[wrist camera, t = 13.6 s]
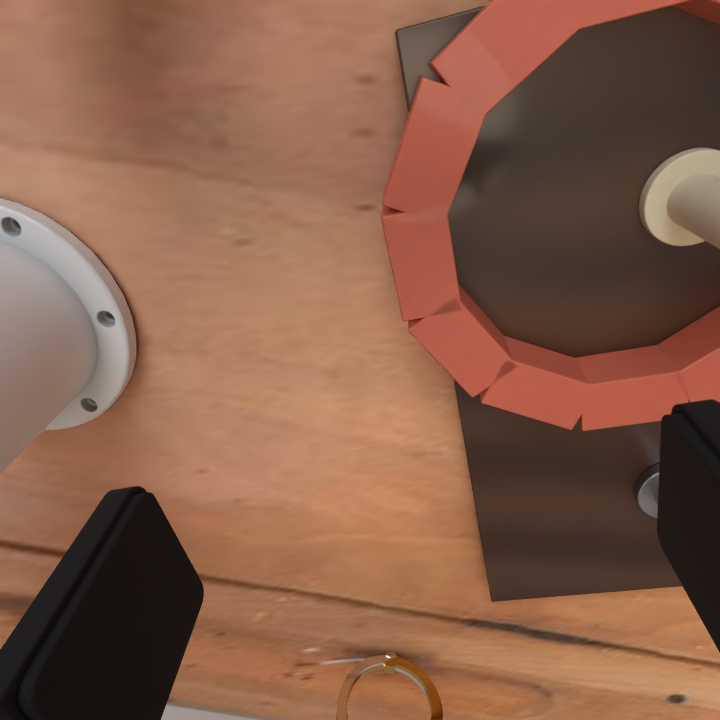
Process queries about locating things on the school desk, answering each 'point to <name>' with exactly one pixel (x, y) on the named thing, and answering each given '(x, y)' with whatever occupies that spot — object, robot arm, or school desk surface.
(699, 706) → the school desk surface
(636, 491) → the steel post
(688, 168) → the cream post
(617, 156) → the board
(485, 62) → the ring
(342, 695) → the ring
